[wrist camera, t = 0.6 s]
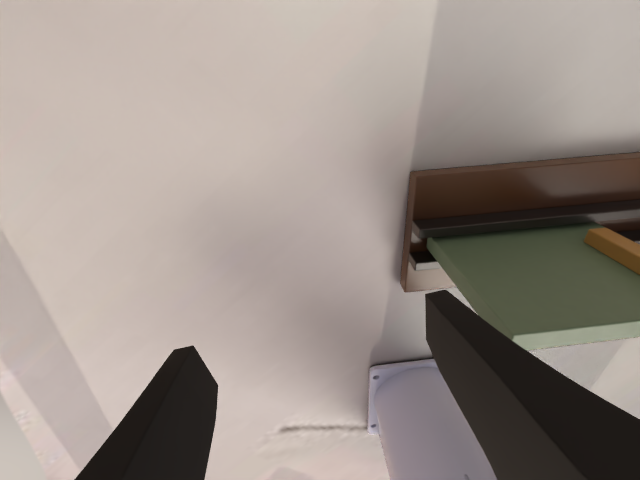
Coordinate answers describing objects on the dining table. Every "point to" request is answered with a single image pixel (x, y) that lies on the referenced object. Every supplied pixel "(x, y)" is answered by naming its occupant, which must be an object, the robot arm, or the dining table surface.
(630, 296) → the sliding door
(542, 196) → the door track
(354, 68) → the dining table surface
